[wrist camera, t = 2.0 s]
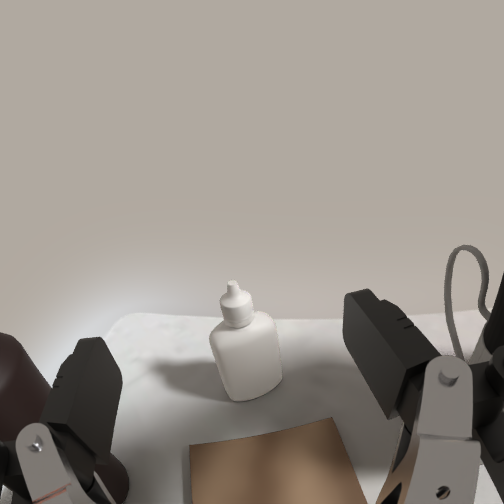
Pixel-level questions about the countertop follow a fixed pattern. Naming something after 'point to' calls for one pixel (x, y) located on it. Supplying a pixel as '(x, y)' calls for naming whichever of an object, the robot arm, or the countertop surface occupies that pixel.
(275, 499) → the walnut board
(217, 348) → the eye dropper bottle
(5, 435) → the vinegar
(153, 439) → the countertop surface
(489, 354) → the glass holder
